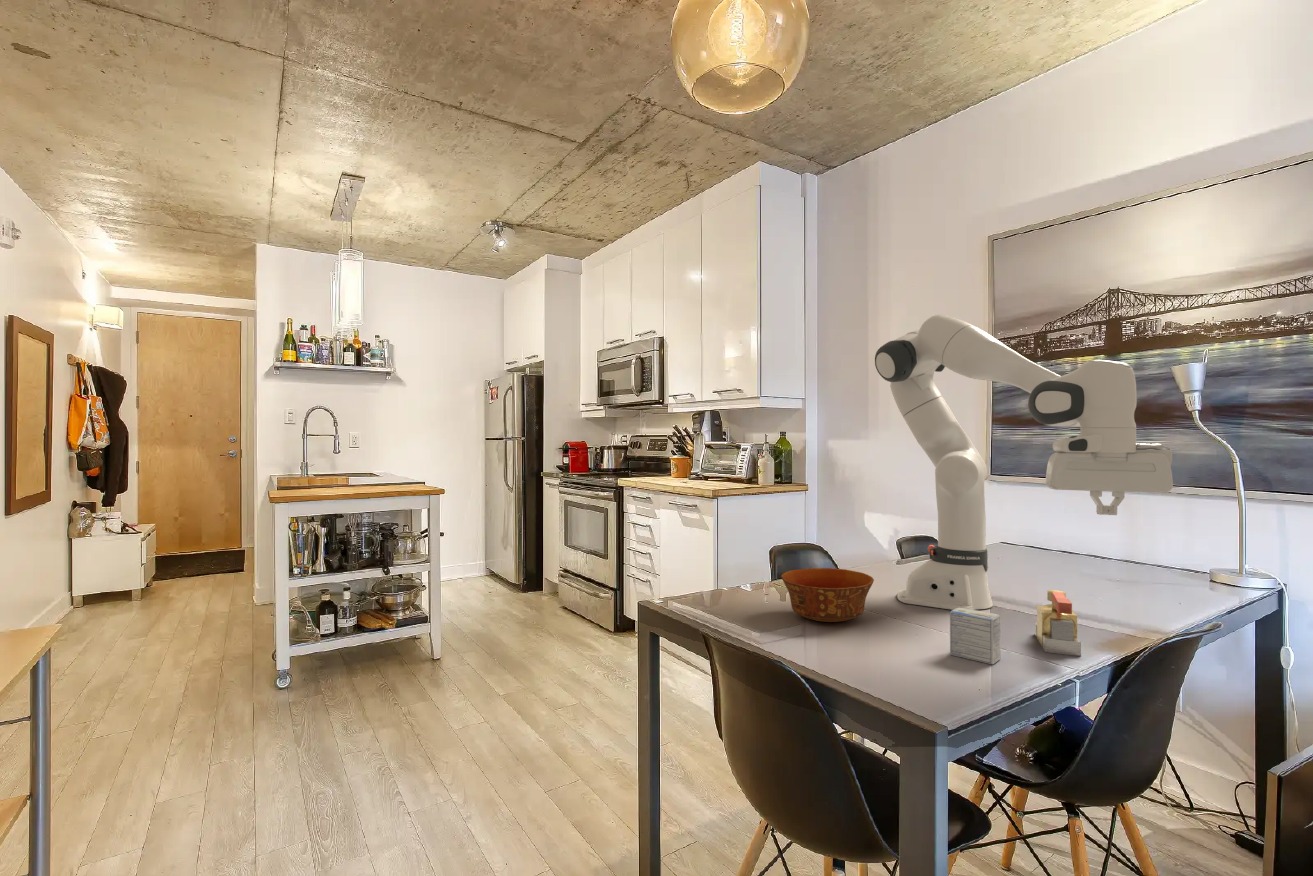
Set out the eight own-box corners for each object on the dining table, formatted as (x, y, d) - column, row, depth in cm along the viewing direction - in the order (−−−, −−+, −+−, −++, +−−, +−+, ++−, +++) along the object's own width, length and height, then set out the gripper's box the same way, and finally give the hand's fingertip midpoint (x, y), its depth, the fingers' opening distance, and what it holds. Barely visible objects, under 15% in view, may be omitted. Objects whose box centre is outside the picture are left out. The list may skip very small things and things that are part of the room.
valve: (1080, 656, 122) (1080, 610, 122) (1045, 652, 125) (1045, 607, 125) (1067, 637, 134) (1067, 596, 134) (1034, 634, 136) (1034, 593, 136)
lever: (1046, 598, 131) (1046, 588, 131) (1064, 599, 130) (1064, 589, 130) (1055, 612, 120) (1055, 602, 120) (1075, 614, 119) (1075, 604, 119)
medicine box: (1001, 660, 120) (1001, 614, 120) (993, 666, 117) (993, 619, 117) (958, 650, 126) (958, 606, 126) (949, 655, 123) (949, 610, 123)
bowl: (793, 633, 137) (793, 586, 137) (772, 606, 158) (772, 567, 158) (888, 632, 138) (888, 586, 138) (854, 606, 159) (854, 566, 159)
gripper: (1164, 443, 122) (1163, 515, 122) (1043, 442, 128) (1043, 510, 128) (1180, 444, 116) (1179, 519, 116) (1052, 442, 122) (1051, 514, 122)
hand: (1106, 514), depth 122 cm, fingers closed
